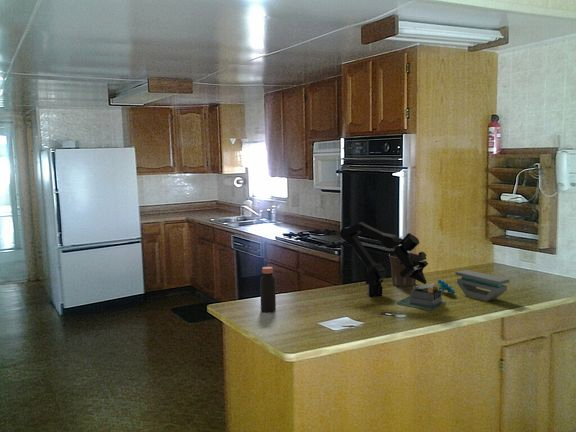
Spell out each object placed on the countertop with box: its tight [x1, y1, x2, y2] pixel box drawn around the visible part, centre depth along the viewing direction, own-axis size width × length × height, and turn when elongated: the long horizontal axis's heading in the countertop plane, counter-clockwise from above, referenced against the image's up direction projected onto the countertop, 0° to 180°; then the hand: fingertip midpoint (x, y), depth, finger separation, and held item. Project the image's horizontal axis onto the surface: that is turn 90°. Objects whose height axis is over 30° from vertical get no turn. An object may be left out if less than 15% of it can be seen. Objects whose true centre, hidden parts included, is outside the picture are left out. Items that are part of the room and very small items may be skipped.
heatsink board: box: [396, 283, 446, 311], centre depth 251 cm, size 18×14×9 cm
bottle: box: [259, 266, 277, 313], centre depth 243 cm, size 7×7×20 cm
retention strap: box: [415, 283, 437, 289], centre depth 249 cm, size 10×3×1 cm, turn 50°
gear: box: [437, 279, 456, 295], centre depth 268 cm, size 11×6×10 cm
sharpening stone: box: [455, 269, 510, 302], centre depth 260 cm, size 25×8×11 cm, turn 32°
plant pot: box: [388, 252, 419, 288], centre depth 287 cm, size 16×16×16 cm
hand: (425, 283), depth 249 cm, fingers closed
